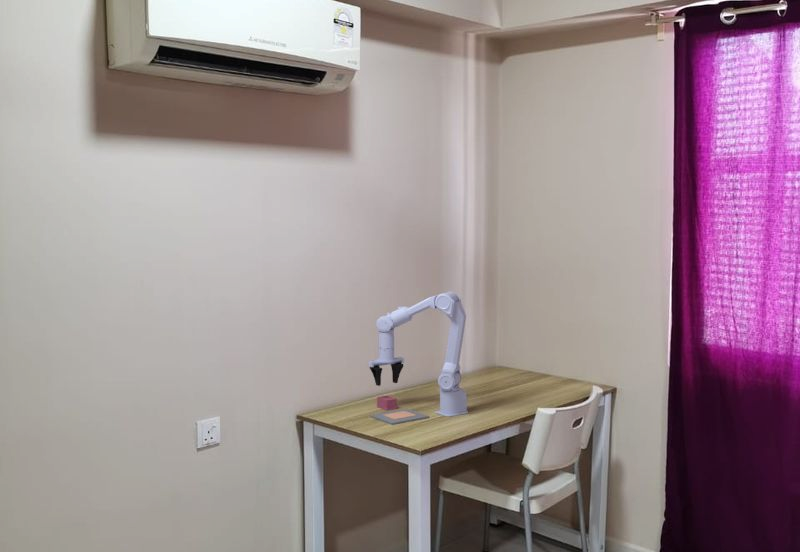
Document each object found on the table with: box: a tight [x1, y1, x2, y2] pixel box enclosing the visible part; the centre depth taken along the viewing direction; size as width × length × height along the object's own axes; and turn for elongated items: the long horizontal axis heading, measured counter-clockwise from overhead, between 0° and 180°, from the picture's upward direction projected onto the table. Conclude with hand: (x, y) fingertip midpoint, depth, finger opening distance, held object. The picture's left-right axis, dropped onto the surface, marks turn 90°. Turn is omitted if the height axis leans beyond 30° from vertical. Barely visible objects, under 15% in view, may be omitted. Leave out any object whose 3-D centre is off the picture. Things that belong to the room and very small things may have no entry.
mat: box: [369, 408, 430, 426], centre depth 285 cm, size 16×14×1 cm
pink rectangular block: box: [376, 395, 398, 412], centre depth 299 cm, size 4×6×4 cm
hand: (386, 384), depth 298 cm, fingers open, 7 cm apart
